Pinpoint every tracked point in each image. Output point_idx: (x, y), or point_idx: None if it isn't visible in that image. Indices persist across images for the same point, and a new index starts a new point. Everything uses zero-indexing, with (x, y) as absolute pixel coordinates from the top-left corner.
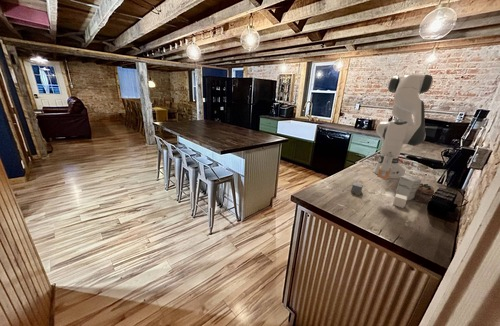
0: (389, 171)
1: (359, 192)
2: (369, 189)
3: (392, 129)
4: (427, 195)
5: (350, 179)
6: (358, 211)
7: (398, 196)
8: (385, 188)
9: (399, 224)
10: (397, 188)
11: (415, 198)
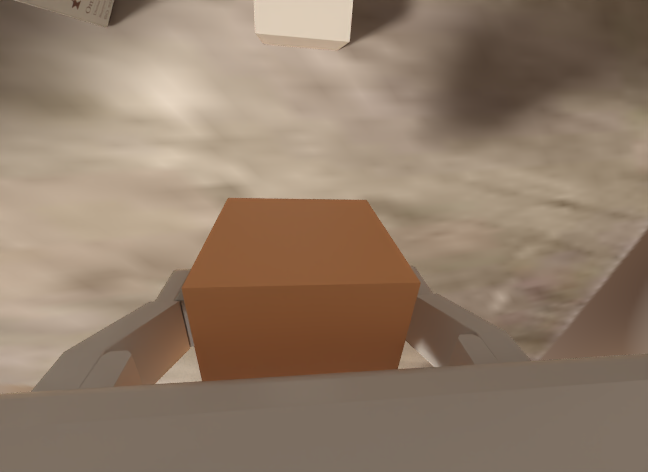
0: (410, 282)
1: None
2: (185, 220)
3: None
4: None
5: None
6: (533, 232)
7: (322, 10)
8: (26, 112)
9: (618, 15)
10: (60, 6)
11: None
